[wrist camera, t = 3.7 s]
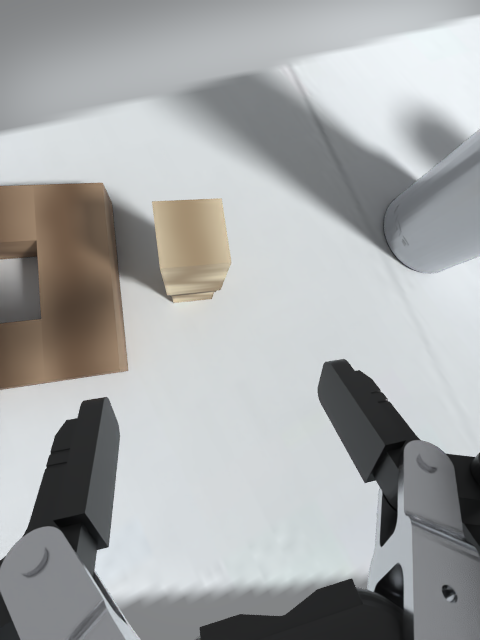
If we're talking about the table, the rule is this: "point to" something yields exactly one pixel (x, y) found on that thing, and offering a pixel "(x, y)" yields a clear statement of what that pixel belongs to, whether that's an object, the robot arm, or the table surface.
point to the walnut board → (63, 284)
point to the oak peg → (191, 247)
